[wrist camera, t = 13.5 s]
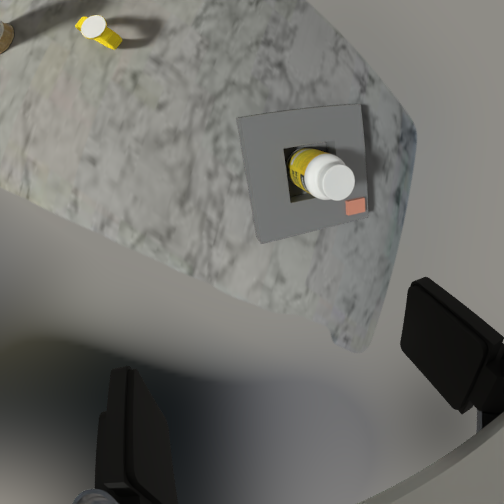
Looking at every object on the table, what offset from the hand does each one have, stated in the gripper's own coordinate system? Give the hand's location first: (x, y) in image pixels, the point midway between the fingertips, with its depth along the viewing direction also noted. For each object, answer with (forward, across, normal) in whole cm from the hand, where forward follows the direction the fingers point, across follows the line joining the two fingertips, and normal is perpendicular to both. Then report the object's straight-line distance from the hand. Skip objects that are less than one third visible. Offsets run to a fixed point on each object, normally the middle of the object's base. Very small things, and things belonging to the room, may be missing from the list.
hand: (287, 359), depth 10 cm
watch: (+33, +8, -20) cm, 39 cm away
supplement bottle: (+32, -14, +2) cm, 35 cm away
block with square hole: (+32, -14, +2) cm, 35 cm away
